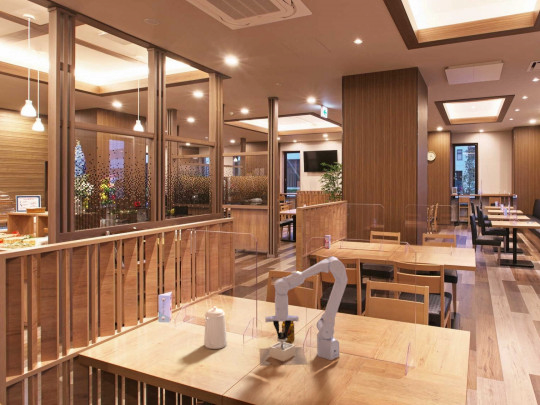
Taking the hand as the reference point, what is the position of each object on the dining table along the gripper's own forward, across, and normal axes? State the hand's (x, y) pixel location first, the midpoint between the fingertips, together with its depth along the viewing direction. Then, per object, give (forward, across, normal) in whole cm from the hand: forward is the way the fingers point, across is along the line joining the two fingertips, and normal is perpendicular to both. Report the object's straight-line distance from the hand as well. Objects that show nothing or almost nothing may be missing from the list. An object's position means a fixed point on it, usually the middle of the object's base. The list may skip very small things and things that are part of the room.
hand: (282, 337), depth 182 cm
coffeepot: (+9, -31, +16) cm, 36 cm away
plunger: (+5, 0, 0) cm, 5 cm away
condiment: (+9, +4, +19) cm, 21 cm away
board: (+9, 0, 0) cm, 9 cm away
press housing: (+8, 0, 0) cm, 8 cm away
